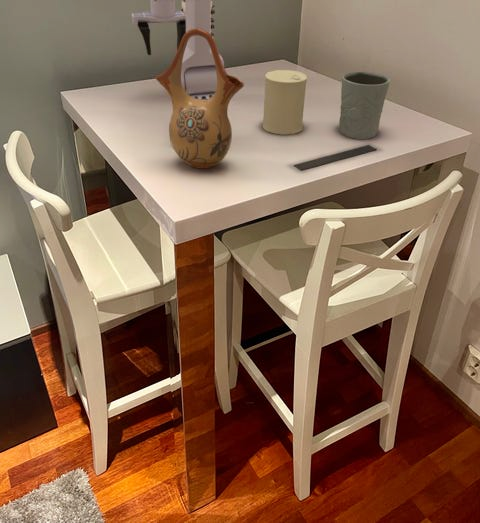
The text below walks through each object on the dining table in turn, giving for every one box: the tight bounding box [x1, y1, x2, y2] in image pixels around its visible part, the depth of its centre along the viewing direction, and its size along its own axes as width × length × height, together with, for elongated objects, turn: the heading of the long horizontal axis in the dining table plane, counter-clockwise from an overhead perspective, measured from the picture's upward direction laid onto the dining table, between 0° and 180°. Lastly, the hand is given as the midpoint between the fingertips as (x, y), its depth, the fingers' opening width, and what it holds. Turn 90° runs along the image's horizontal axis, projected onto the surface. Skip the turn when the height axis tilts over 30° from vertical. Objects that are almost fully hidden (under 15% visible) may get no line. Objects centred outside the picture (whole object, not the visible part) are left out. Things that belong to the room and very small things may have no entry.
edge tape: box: [293, 144, 378, 171], centre depth 106 cm, size 20×2×1 cm, turn 122°
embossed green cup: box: [338, 71, 391, 140], centre depth 114 cm, size 10×10×12 cm
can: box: [261, 69, 308, 136], centre depth 115 cm, size 9×9×12 cm
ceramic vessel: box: [154, 28, 245, 169], centre depth 94 cm, size 16×9×25 cm, turn 76°
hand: (164, 52), depth 129 cm, fingers open, 7 cm apart
